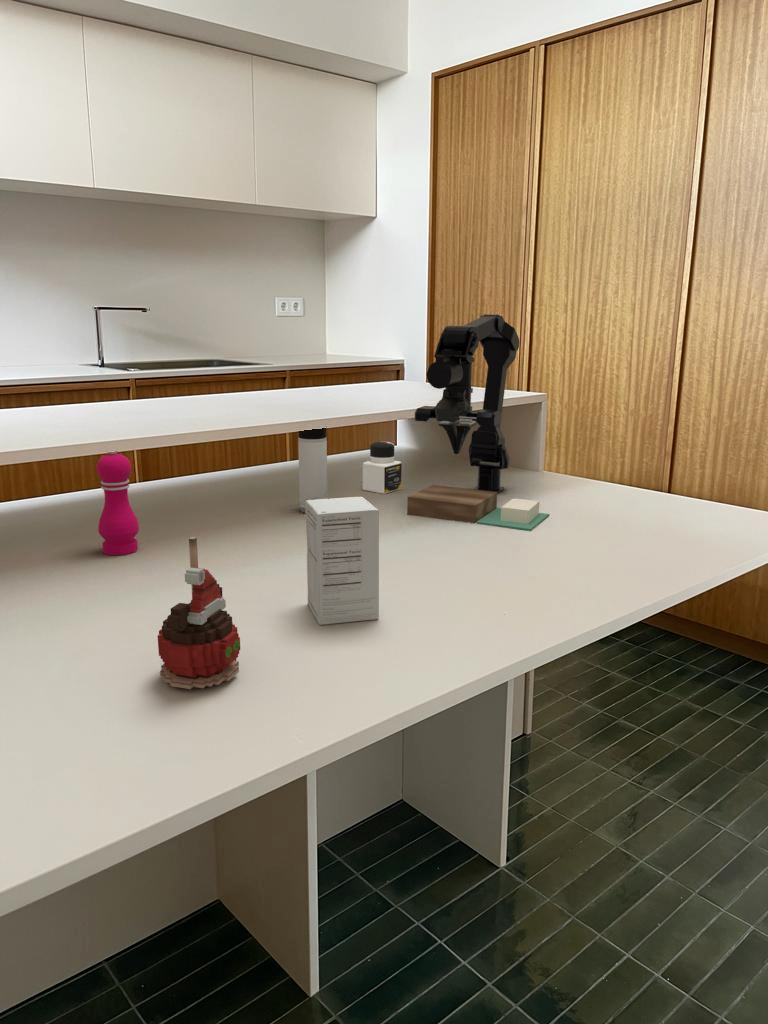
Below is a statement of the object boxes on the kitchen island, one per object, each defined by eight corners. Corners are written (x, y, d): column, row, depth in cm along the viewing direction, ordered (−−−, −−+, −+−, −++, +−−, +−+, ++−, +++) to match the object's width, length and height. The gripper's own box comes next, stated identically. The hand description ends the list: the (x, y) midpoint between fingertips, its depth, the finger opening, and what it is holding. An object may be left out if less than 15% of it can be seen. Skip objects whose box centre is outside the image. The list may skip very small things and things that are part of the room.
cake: (189, 653, 106) (181, 523, 101) (253, 663, 103) (248, 529, 99) (143, 689, 96) (132, 547, 91) (213, 700, 93) (205, 554, 89)
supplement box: (380, 620, 118) (381, 509, 113) (319, 626, 115) (317, 514, 111) (363, 597, 126) (363, 494, 122) (306, 603, 124) (304, 498, 120)
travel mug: (311, 515, 175) (310, 425, 170) (294, 509, 180) (292, 421, 175) (333, 511, 179) (333, 422, 174) (316, 505, 184) (315, 419, 179)
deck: (432, 501, 189) (432, 484, 188) (496, 509, 182) (497, 492, 181) (407, 514, 177) (407, 496, 176) (474, 523, 170) (475, 505, 169)
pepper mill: (129, 542, 154) (121, 440, 149) (147, 550, 149) (140, 445, 144) (93, 550, 149) (84, 445, 144) (111, 559, 144) (102, 450, 139)
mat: (497, 509, 182) (497, 507, 182) (549, 515, 177) (549, 514, 177) (476, 523, 170) (476, 521, 170) (530, 531, 165) (530, 529, 164)
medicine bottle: (384, 494, 195) (385, 446, 192) (362, 490, 200) (362, 442, 197) (401, 489, 201) (402, 442, 198) (379, 485, 205) (379, 439, 202)
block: (539, 501, 175) (538, 514, 176) (512, 498, 178) (512, 511, 179) (528, 510, 167) (527, 524, 168) (501, 507, 170) (500, 520, 171)
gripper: (404, 385, 172) (404, 456, 176) (487, 390, 164) (484, 464, 169) (424, 381, 182) (423, 448, 186) (503, 384, 174) (500, 454, 178)
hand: (456, 453), depth 179 cm, fingers closed
